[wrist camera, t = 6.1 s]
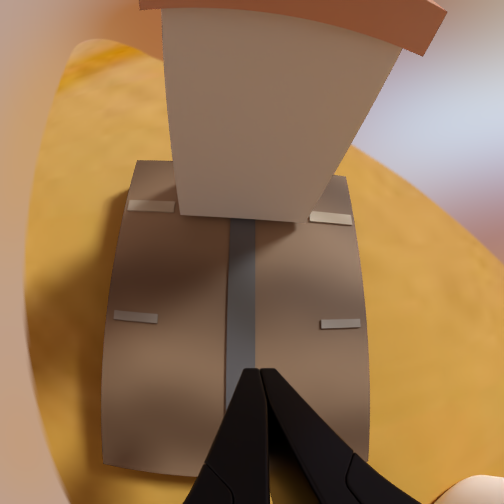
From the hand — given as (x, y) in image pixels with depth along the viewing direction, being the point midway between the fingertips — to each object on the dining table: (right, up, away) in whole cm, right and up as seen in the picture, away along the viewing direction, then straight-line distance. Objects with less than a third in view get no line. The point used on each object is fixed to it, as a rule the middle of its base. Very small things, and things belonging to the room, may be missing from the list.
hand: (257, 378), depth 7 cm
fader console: (-1, 0, +7) cm, 7 cm away
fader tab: (-1, +6, +7) cm, 9 cm away
